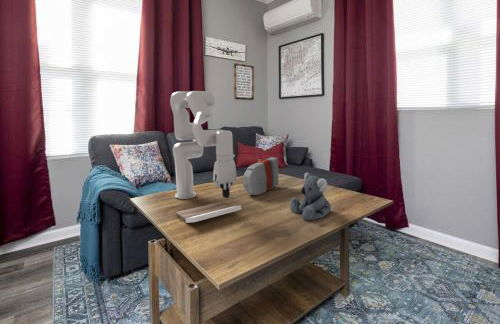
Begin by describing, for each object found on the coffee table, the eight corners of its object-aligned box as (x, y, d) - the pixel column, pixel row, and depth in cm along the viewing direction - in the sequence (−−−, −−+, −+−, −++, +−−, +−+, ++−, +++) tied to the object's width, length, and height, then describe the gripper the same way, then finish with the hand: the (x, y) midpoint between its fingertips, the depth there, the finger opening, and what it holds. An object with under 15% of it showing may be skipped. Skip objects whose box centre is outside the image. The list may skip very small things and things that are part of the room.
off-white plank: (185, 222, 129) (185, 218, 129) (230, 211, 143) (229, 207, 144) (195, 221, 121) (194, 217, 121) (241, 209, 135) (240, 205, 136)
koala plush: (287, 210, 144) (288, 172, 141) (318, 205, 150) (319, 169, 147) (306, 222, 128) (307, 179, 125) (339, 216, 134) (341, 176, 131)
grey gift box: (270, 156, 186) (240, 167, 163) (279, 156, 182) (249, 168, 159) (272, 184, 190) (242, 199, 168) (280, 186, 186) (251, 201, 164)
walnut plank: (175, 216, 138) (175, 212, 137) (218, 205, 152) (218, 202, 152) (184, 222, 130) (184, 218, 129) (229, 210, 144) (229, 206, 144)
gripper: (233, 155, 138) (234, 192, 141) (206, 159, 129) (207, 198, 132) (242, 157, 132) (243, 195, 135) (214, 161, 123) (216, 202, 126)
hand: (226, 197), depth 134 cm, fingers closed
